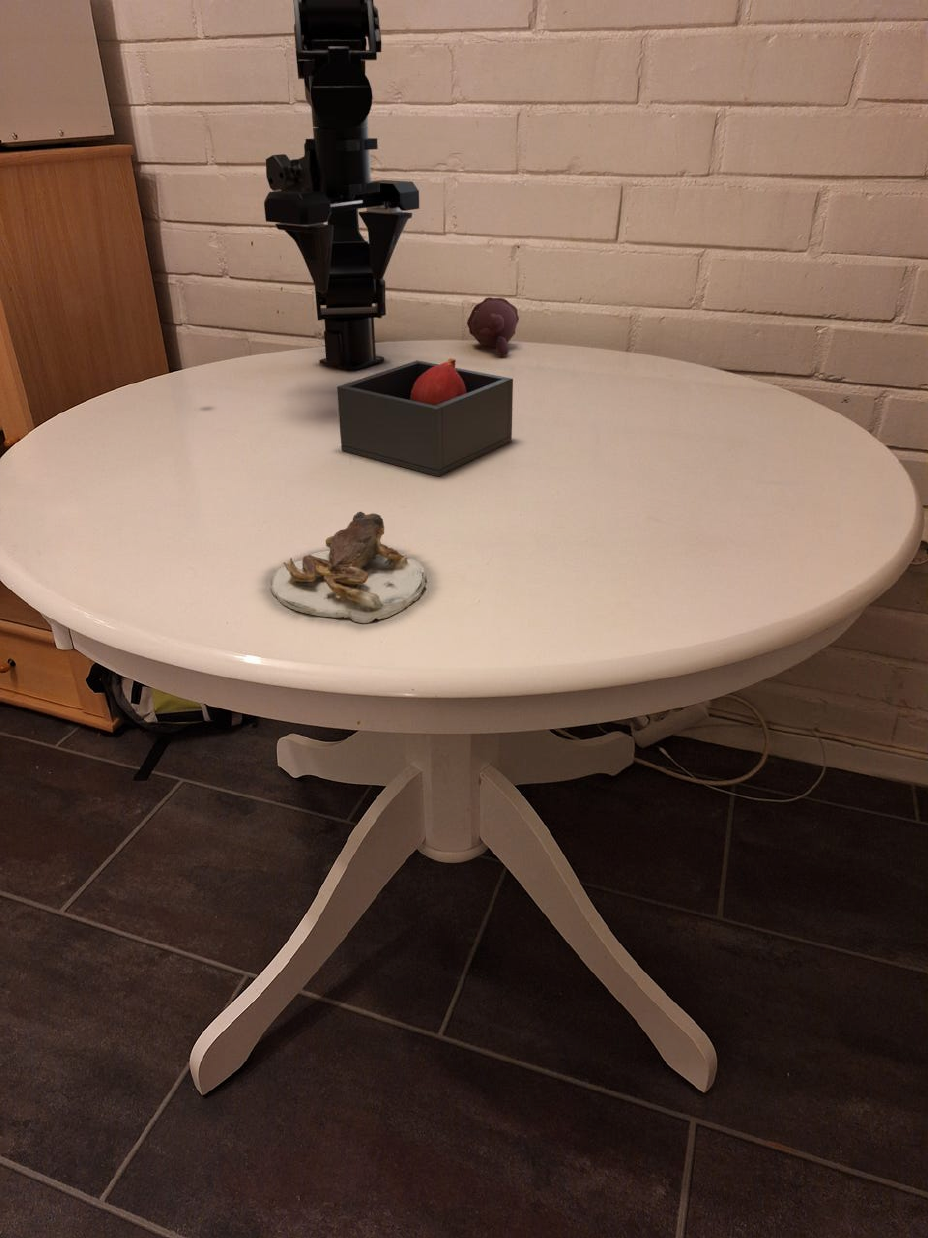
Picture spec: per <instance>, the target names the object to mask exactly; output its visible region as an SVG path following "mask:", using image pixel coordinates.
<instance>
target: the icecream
mask: <svg viewBox="0 0 928 1238" xmlns="http://www.w3.org/2000/svg"><path fill="white" fill-rule="evenodd" d="M518 313H519V312H518V308H517V307H516V306H515V305H513V304H511V303H510V302H509V301H508V300H507V299H505V298H502V297H491V296H489V297H485V298H484V299H483V301H481V302H479V303H477V304H475V306H474V307H473V308H472V310H471V312H470V315H469V317H468V319H467V322H466V325H467V327H468V331H469V334H470V335H471V336H472V337H474V339H475V340H476V341H477V342H478V343H479V344H481V345H483V346H487V347H489V348H492V349H496V350H497V353H498V354H499V356H500V357H502V358H503V357H507V355H508V354H509V350H510V344H509V342H510V341H511V339H512V338H513V337H514V336H515V334H516V329H517V326H518V323H519V320H520V317H519V315H518Z"/></svg>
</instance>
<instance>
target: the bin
mask: <svg viewBox="0 0 928 1238" xmlns="http://www.w3.org/2000/svg"><path fill="white" fill-rule="evenodd" d="M437 365H440V364H438V363H433V362H427V361H423V360H417V359H416V360H414V361H411V362H408V363H405V364H402V365H399V366H395V367H393V368H390V369H387V370H384V371H381V372H378V373H375V374H372V375H368V376H365V377H363V378H359V379H356V380H354V381H351V382H348V383H347V382H346V383H344V384H341V385H338V386H336V393H337V406H338V407H337V408H338V418H339V433H340V448H341V451H343V452H347V453H350V454H353V455H358V456H361V457H365V458H369V459H372V460H376V461H380V462H383V463H387V464H389V465H395V466H398V467H402V468H405V469H409V470H413V471H416V472H420V473H424V474H427V475H431V476H435V477H440V476H442V475H444V474H447V473H449V472H451V471H452V470H454V469H457V468H460V466H463V465H465V464H467V463H469V462H472V461H474V460H476V459H477V458H480V457H481V456H484V455H486V454H488V453H490V452H492V451H494V450H496V449H499V448H501V447H503V446H504V445H506V444H508V443H510V442H512V440H513V403H514V401H513V398H514V393H513V392H514V378H513V377H507V376H501V375H495V374H490V373H485V372H480V371H475V370H470V369H465V368H459V367H455V370H456V371H457V372H458V374H459V375H460V377H461V378H462V380H463V382H464V384H465V387H466V391H467V393H466V394H464V395H461V396H459V397H456V398H454V399H451V400H449V401H446V402H444V403H441V404H438V405H436V406H434V405H430V404H425V403H420V402H416V401H411V400H410V396H411V391H412V388H413V386H414V383H415V382H416V380H417V379H418V378H419V377H420V376H421V375H422V374H423V373H425V372H426V371H427V370H429V369H430V368H432V367H434V366H437Z"/></svg>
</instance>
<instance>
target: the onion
mask: <svg viewBox="0 0 928 1238" xmlns="http://www.w3.org/2000/svg"><path fill="white" fill-rule="evenodd" d="M456 360H457V359H456V358H452V357H451V358H448V360H447V361H444V362H442V363H440V364H439V365H437V366H434V367H432V368H430V369H429V370H427V371H426V372H425V373H423V374H422V375H421V376H420V377H419V378H418V379H417V380H416V382H415V383H414V386H413V388H412V391H411V396H410V400H411V401H416V402H420V403H425V404H430V405H434V406H436V405H438V404H441V403H444V402H446V401H449V400H451V399H454V398H456V397H459V396H461V395H464V394H466V393H467V391H466V387H465V384H464V382H463V380H462V378H461V377H460V375H459V374H458V372H457V371H456V370H455V368H456V363H457V361H456Z"/></svg>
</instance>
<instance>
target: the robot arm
mask: <svg viewBox="0 0 928 1238" xmlns="http://www.w3.org/2000/svg"><path fill="white" fill-rule="evenodd" d="M292 2H293V14H294V25H293V33H294V46H295V59H296V69H297V70H296V71H297V80H303V84H304V85H303V87H304V96H305V97H304V98H305V100H306V102H307V103H308V104H309V106H310V107H311V108H310V109H311V121H312V134H313V138H305V139H304V140H305V142H304V144H303V146H304V147H303V150H304V151H303V152H304V155H303V156H302V157H299V158H294V159H291V158H289V157H288V155H287V154H285V153H283V154H272V155H271V156H269V157H268V158H265V177H266V180H267V183H268V186H269V188H270V190H271V191H269V192H268V193H267V195H266V197H265V199H264V200H263V208H264V218H265V222H267V223H268V222H269V223H275V224H274V225H275V227H276V229H277V230H278V231H284V232H285V233H286V234H287V235H288V236H289V237H290V238H291V239H292V240H293V241H294V242H295V244H296V246H297V247H298V249H299V252H300V254H301V257H302V259H303V260H304V263H305V266H306V267H307V270H308V272H309V275H310V277H311V279H312V282H313V284H314V292H315V293H314V294H315V303H316V315H317V316H316V317H317V321H323V320H324V331H323V340H324V351H325V352H324V353H325V357H324V358H321V359H319V360H318V361H319V362H318V363H319V365H324V366H329V367H333V368H339V369H342V370H343V369H344V370H348V371H356V370H360V369H363V368H366V367H367V368H368V367H370V366H374V365H376V364H380V363H383V362H385V356H382V355H377V353H376V350H377V349H376V333H375V319H376V318H377V319H382V317H385V316H387V310H386V309H387V307H386V280H385V279H384V276H385V274H386V271H387V268H388V267H389V265H390V261H391V259H392V256H393V254H394V252H395V248H396V246H397V244H398V242H399V239H400V237H401V236H402V233H403V231H404V229H405V227H406V226H407V225H406V224H407V223H408V220H409V219H412V218H413V212H408V211H411V210H412V211H413V210H420V190H419V189H418V187H417V186H416V185H415V183H414V182H413V181H407V180H394V179H393V180H392V179H379V180H372V174H371V173H372V172H371V155H370V151H371V150H378V148H379V147H378V137H377V138H376V137H375V138H374V137H369V135H370V134H369V117H368V116H369V114H370V113H371V109H372V107H373V89H372V86H371V83H370V80H369V78H368V76H367V75H366V61H367V62H368V61H377V59H378V54H377V53H382V34H381V24H380V16H379V9H378V8H377V7H376V6H375V4H374V0H292ZM367 48H368V49H367ZM359 209H366V210H364V211H359ZM406 211H407V212H406ZM359 218H360V219H361V220H362V222H363V224H364V225H365V227H366V229H367V234H368V235H367V238H368V240H366V239H365V238H364V236H363V235H362V234H361V231H360V224H359V223H360V221H359ZM321 306H325V307H321Z"/></svg>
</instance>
